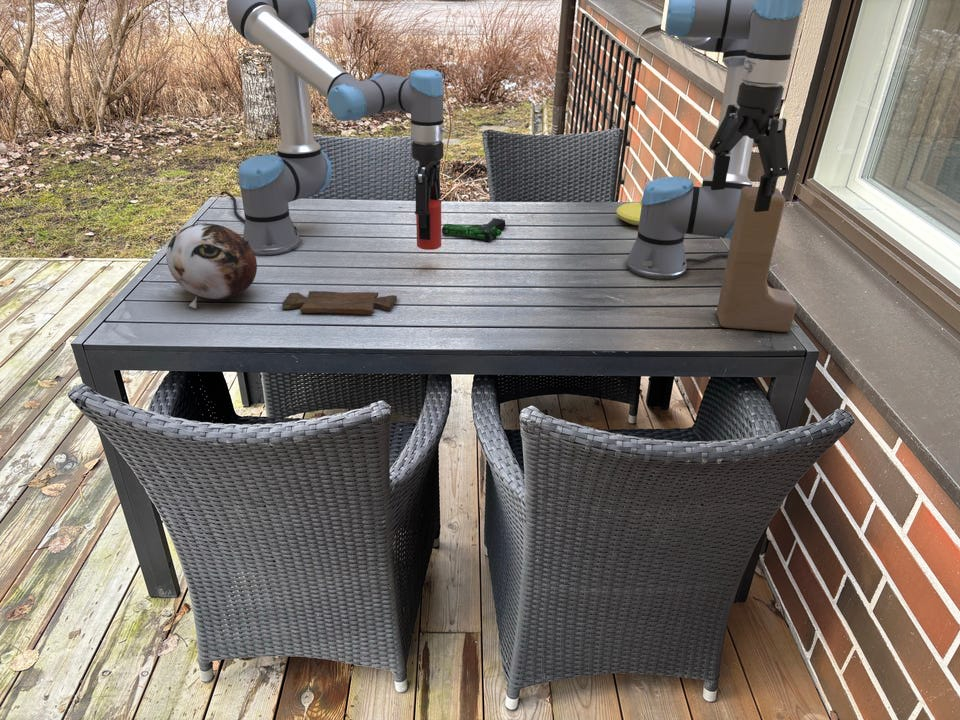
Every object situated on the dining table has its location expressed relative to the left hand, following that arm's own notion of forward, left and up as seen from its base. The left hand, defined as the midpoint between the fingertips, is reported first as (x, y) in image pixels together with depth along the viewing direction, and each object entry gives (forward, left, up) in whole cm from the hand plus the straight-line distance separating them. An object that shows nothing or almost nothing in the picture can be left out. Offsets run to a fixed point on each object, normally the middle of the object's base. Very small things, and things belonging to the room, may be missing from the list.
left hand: (428, 233), depth 180 cm
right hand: (+72, +4, +22) cm, 76 cm away
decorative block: (+78, +17, -10) cm, 80 cm away
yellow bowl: (+32, +65, -10) cm, 73 cm away
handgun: (-5, +29, -10) cm, 31 cm away
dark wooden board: (-4, -29, -10) cm, 31 cm away
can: (0, 0, -3) cm, 3 cm away
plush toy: (-31, -42, -10) cm, 53 cm away
